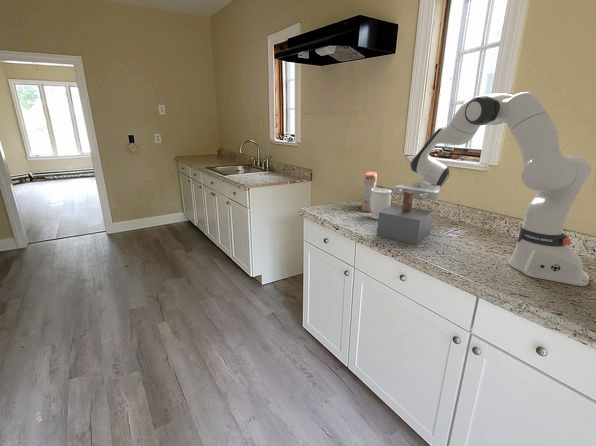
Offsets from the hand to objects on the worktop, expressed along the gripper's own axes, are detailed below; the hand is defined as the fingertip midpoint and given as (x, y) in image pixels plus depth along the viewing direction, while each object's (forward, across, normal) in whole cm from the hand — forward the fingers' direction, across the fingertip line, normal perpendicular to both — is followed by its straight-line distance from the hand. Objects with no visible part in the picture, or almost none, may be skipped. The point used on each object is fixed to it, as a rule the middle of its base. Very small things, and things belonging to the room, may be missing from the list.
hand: (410, 194), depth 142 cm
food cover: (+4, 0, +18) cm, 18 cm away
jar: (-14, -20, +18) cm, 30 cm away
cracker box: (-26, -32, +18) cm, 45 cm away
